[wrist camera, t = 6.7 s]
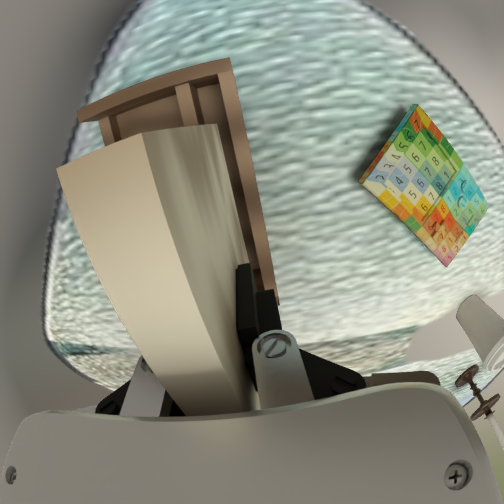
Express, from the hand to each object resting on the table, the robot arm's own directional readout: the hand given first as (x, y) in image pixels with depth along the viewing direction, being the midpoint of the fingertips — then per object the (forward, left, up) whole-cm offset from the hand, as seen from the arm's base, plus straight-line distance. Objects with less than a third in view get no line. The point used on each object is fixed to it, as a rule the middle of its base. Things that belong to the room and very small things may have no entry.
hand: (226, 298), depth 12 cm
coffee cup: (+7, -51, -20) cm, 55 cm away
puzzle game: (+14, -20, -21) cm, 32 cm away
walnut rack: (-3, +3, -20) cm, 21 cm away
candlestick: (-6, -85, -20) cm, 87 cm away
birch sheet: (0, 0, -8) cm, 8 cm away
